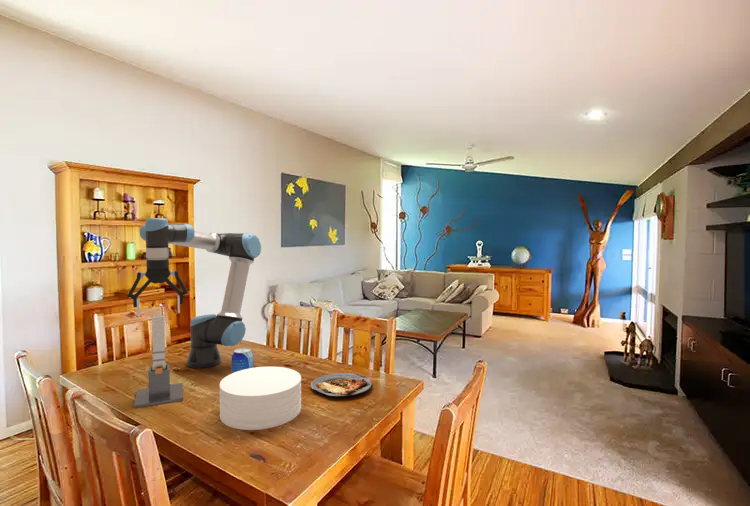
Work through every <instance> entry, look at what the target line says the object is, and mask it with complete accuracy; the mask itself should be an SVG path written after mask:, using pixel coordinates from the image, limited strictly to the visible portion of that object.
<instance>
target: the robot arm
mask: <svg viewBox="0 0 750 506" xmlns="http://www.w3.org/2000/svg"><path fill="white" fill-rule="evenodd" d="M139 236H140V238H141V239H142V240H143V241H145V257H146V261H145V263H146V272H141V271H138V272H137V273H136V279H135V281H134V283H133V284H132V286H131V288H130V290H129V292H128V294H127V298H129V299H132V301H133V304H132V305H133V307H134V308H136V315H137V317H140V316H141V305H140V304H141V303H140V302H141V301H140V299H141V298H140V295H141V293H143V292H144V291H145V290H146V288H147V287H148V286H149V285H150V284H154V285H155V284H163V283H166V284H167V285H168V286H169V287H170V288H171V289H172V290H173V291H174V292H175V293H176V294H178V295H177V314H181V305H183V304H184V296H185V295H188V294H189V291H188V289H187V288H186V285H185V284H184V283H183V281H182V279H181V277H180V276H179V271H178V270H173V271H170V263H169V262H170V260H169V252H170V251H169V244H170V245H175V246H182V247H188V248H195V249H199V250H200V249H201V250H206V252H208V253H213V254H217V255H221V256H225V257H228V260H230V267H229V271H228V276H227V283H226V287H225V291H224V294H223V295H224V296H223V301H222V305H221V310H220V312H219V313H217V314H214V313H213V314H212V313H211V314H203V315H198V316H195V317H194V316H193V317H192V318H191V320H190V326H189V327H190V328H189V329H190V330H189V331H190V332H189V333H190V350H189V353H188V356H187V360H186V366H187V367H189V368H192V369H205V368H209V367H210V368H211V367H215V366H217V365H219V364H220V363H222V355H221V354H220V351H219V348H218V345H219V346H225V347H233V346H234V347H235V346H237V345H239V344H240V343H241V342H242V340H243V339H244V338H245V334H246V324H245V323H244V322H243V316H242V315H241V310H242V305H243V299H244V297H245V290H246V285H247V280H248V274H249V270H250V265H252V264H254V262H255V261H254V260H255V259H256V258H258V257H259V256H260V254H261V252H262V244H261V241H260V239H259V237H258V236H257V235H256V234H253V233H248V232H245V233H242V232H241V233H239V232H238V233H237V232H236V233H231V232H228V233H227V232H226V233H216V232H209V233H206V232H202V231H201V232H200V231H195V228H194V227H193V226H192V225H191V224H189V223H169V221H168V219H167V218H160V217H159V218H157V217H155V218H154V217H149V218H146V219H145V224H143V225H142V226H140V229H139ZM170 276H172V277H174V278H175V280H176V281H177V283H178V285H179V286H180V288H181V289H180V288H178V287H177V286H176V284H174V283H173V282H172V281H171V280H170V279H169V277H170ZM144 277H146V278H147V280H146V282H145V283H143V285H142V286H141V287H140V288H139V290H137V292H136V293H135V290H136V288H137V287H138V286H139V285H138V284H139V283H140V280H141V279H143V278H144ZM133 293H135V294H133Z"/></svg>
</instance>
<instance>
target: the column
mask: <svg viewBox="0 0 750 506" xmlns="http://www.w3.org/2000/svg"><path fill="white" fill-rule="evenodd" d="M151 321H152V322H151V323H152V325H151V327H152V328H151V330H152V332H151V333H152V351H151V354H152V358H151V360H152V370H153V371H155V369H157V368H163V370H165V369H166V365H167V361H166V358H167V357H166V350H167V349H166V340H165V339H166V335H165V334H166V333H165V331H166V330H165V314H162V315H161V314H160V315H159V314H157V315H152V317H151Z"/></svg>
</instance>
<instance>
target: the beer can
mask: <svg viewBox="0 0 750 506" xmlns="http://www.w3.org/2000/svg"><path fill="white" fill-rule="evenodd" d="M249 368H254V353H253V351H252V349H251V348H249V347H239V348H236V349H234V350H233V353H232V355H231V374H232V373H234V372H237V371H241V370H244V369H249Z"/></svg>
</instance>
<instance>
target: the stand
mask: <svg viewBox="0 0 750 506" xmlns="http://www.w3.org/2000/svg"><path fill="white" fill-rule="evenodd" d="M170 367H171V365H170V363H166V369H165V370H163V368H157V369H155V371H153V370H152V366H148V387H146V388H144V387H143V388H139V389H137V391H136V394H135V399H134V403H133V409H137V408H143V407H149V406H155V405H163V404H168V403H173V402H175V403H176V402H180V401H184V391H183V390H184V387H183V383H182V382H180V383H172V384H171V375H170V373H171V372H170V370H171V369H170Z"/></svg>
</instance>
